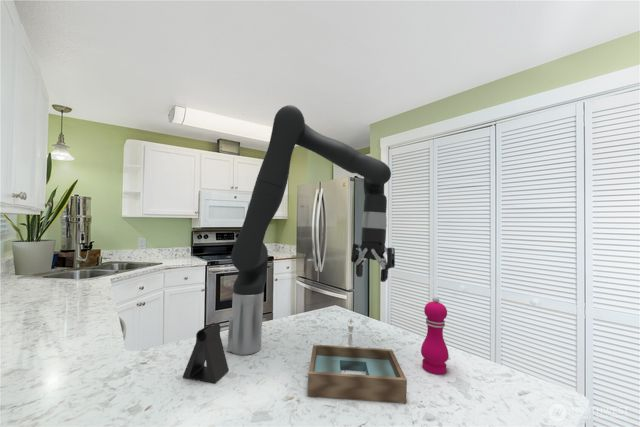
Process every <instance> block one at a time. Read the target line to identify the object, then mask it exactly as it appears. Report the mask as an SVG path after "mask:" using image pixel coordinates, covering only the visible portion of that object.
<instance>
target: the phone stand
mask: <svg viewBox="0 0 640 427" xmlns="http://www.w3.org/2000/svg"><path fill="white" fill-rule="evenodd" d="M221 328H222V327H221V324H220V323H219V322H216V323H215V322H212V323H210V324H209V325H206V326H205V327H203V328H201V329H200V330H198V331H197V332H196V333H195V334H196V335H195V338H196V339H195V340H196V341H195V345H194V347H193V349H192V352H191V354H190V357H189V359H188V362H187V364H186V367H185V369H184V372H183V375H182V378H183V379H186V380H190V381H197V382H198V381H199V382H203V383H209V384H217V382H218V381H220V380H221V379H222V378H223V377H224V376H225V375H226V374H227V373H228V372H229V371H230V370H229V366H228V362H227V358H226V357H227V356H226V354H225V350H224V345H223V342H222V337H221ZM205 364H206V365H205Z"/></svg>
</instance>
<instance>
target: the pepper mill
mask: <svg viewBox="0 0 640 427" xmlns="http://www.w3.org/2000/svg"><path fill="white" fill-rule="evenodd" d="M423 312H424V315H425V316H426V318H425V324H426V325H427V331H426V332H427V333H426V336H425V338H424V340H423V342H422V344H421V348H420V353H421V356H422V357H423V359H422V361H421V365H422V369H423V370H425V371H426V372H427V373H430V374H433V375H444V374H446V373H447V363H446V362H447V361H448V360H449V357H450V355H449V349H448V347H447V344H446V342H445V340H444V334H443V331H444V327H445V326H446V321H445V319H446V318H447V316H448V309H447V308H446V305H444V304H443V303H441V302H440V298H439V297H438V296H436V295H435V296H433V297H432V301H429V302H427V303H426V304H425V306H424V309H423Z"/></svg>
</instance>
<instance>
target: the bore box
mask: <svg viewBox="0 0 640 427" xmlns="http://www.w3.org/2000/svg"><path fill="white" fill-rule="evenodd" d="M311 351H312V352H311V357H310V362H309V368H308V373H307V374H308V376H307V395H306V396H307V397H312V398H313V397H314V398H327V399H329V398H330V399H340V400H341V399H342V400H354V401H357V400H358V401H367V402H368V401H369V402H381V403H382V402H384V403H397V404H398V403H399V404H407V390H408V389H407V388H408V387H407V386H408V380H407V377H406V375H405V373H404V371H403V369H402V367H401V365H400V363H399V361H398V358H397V357H396V354H395V352H394V350H393V349H391V348H389V349H388V348H375V347H363V346H362V347H361V346H359V347H356V346H354V347H346V345H343V346H342V345H328V344H312V350H311ZM341 371H351V372H352V371H354V372H355V371H356V372H365V374H355V373H354V374H352V373H341Z"/></svg>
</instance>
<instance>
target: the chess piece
mask: <svg viewBox="0 0 640 427" xmlns="http://www.w3.org/2000/svg"><path fill="white" fill-rule="evenodd" d="M347 321H348V324H347V328H348V331H347V332H346V334H348V339H347V344H346V345H345V346H346V347H355V346H354V343H353V335H355V332H354V331H353V330H354V327H355V325H354V324H353V323H354V320H353V318H350V319H349V320H347Z"/></svg>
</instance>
